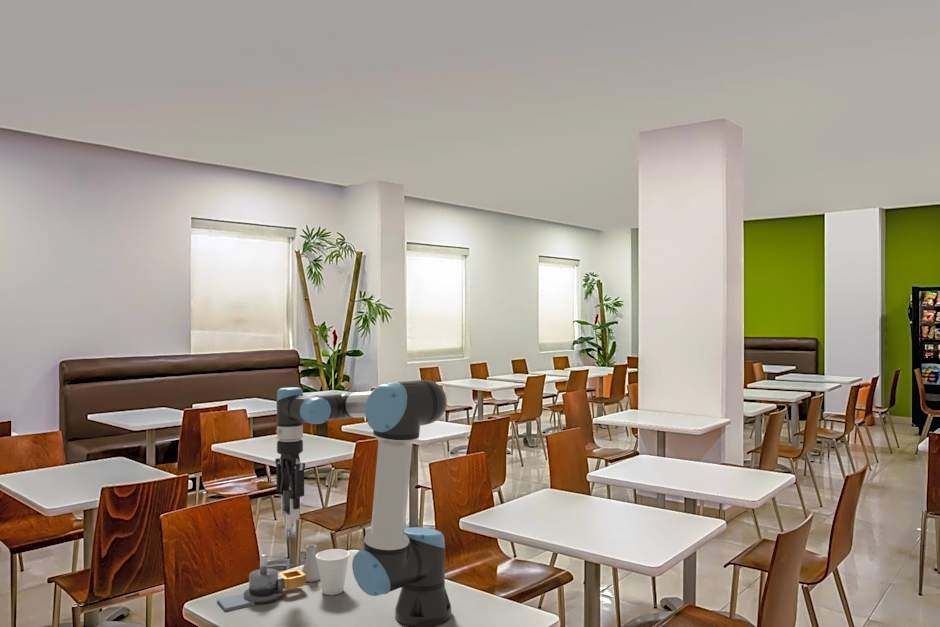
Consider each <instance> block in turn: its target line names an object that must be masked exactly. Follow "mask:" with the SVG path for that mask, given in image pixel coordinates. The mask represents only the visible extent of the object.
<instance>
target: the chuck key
mask: <svg viewBox="0 0 940 627" xmlns="http://www.w3.org/2000/svg"><path fill="white" fill-rule="evenodd" d="M289 497H292V495H291V488H289V489H284V490H283V511H285V517H284V518H285V519H284V520H285V521H284V522H285V525H284V526H285V530H284V531H285V533H284V534H285V536H284V537H285V539H286V540H291V539H296V538H297V536H296V535H297V529H296V528H297V522H296V521H297V520H293V521H290V498H289Z"/></svg>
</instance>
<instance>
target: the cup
mask: <svg viewBox="0 0 940 627" xmlns="http://www.w3.org/2000/svg"><path fill="white" fill-rule="evenodd" d="M350 555H351V553H350V551H349V550H346V549H339V548H332V549H331V548H330V549H325V550H323V551H319V552H317V553H316V558H317V563H318V569H319V574H320V580H319V581H320V587H321V592H322V593H323V594H324V595H327V596H337V595H339V594H341V593H343V591H344V588H345V581H346V577H347V575H346V574H347V569H348V563H349V558H350Z"/></svg>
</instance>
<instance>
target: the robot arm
mask: <svg viewBox="0 0 940 627" xmlns="http://www.w3.org/2000/svg"><path fill="white" fill-rule="evenodd" d="M276 392H277V393H276V401H275V402H276V431H275V432H276V439H277V442H276V453H277V454H278V455H280V457H276V458H274V459H275V465H276V467H275V468H276V470H275V471H276V473H275V474H276V478H275V479H276V484H275V485H276V492H279V494H280V517H281V518H285V511H283V490H284V489H291V495H292V497H289V498H290V521H293V520H296V521H298V520H301V519H300V514H301V513H300V507H301V506H300V500H301V499H300V498H301V497H304V496H305V469H306V463H305V462H301V460H300V454H301V453H303V451H304V441H303V437H304V423H306V424H310V425H315V424H316V425H319V424H324V422H326V421H334V420H341V419H356V418H361V419H362V418H365V419H367V424H368V426H369V428H371V429H372V432H373V433H372V434H373V436H374V438H375V439H376V440H377V441H378V444H377V455H376V467H375V468H376V469H375V478H374V489H373V490H374V491H373V501H372V512H371V524H370V531H369V532H368V533H367V534H366V535H364V538H363V548H362V549H361V550H360V549H359V550H358V551H357V552H356V553H355V554H354V555H353V558H352V562H351V564H352V566H351V567H352V574H353V577H354V579H355V581H356V583H357V585H358V587H359V588H360V589H361V591H362V592H363V593H365V594H366V595H368V596H371V597H378V596H381V595H387V594H389V593H390V592H393V591H396V590H398V589H400V588H401V589H400V592H399V596H398V598H397V602H396V605H395V609H394V610H395V613H394V614H395V616H394V618H395V619H396V621H397V622H398V623H399V624H401V625H403V626H408V627H435V626H439V625H441V624H445V623H446V622H448V621H449V620H450V619H451V617H452V605H451V601H450V599H449V596H448V592H447V589H446V586H445V585H446V584H445V580H446V579H445V578H446V574H445V573H446V571H445V570H446V545H445V536H444V534H443V533H442V532H441V531H439V530H437V529H434V528H429V527H428V528H427V527H421V526H418V527H415V526H414V527H406V521H407V520H406V519H407V508H408V496H409V484H410V475H411V474H410V473H411V464H412V452H413V443H415V442H416V441H417V440H419V438H420V432H421V426H426V425H430V424H432V423H435V422H437V421H438V420H439V419H440V418H441V417H442V416H443V414H444V413H445V411H446V409H447V404H448V403H447V402H448V401H447V400H448V398H447V395H446V392H445V390H444V389H443V388H442V386H441V385H439V384H438V383H437V382H435V381H433V380H429V379H428V380H427V379H419V380H410V381H409V380H408V381H391V382H388V383H383V384H380V385H377V386H375V388H374V389H372V391H371V390H369V391H358V392H355V391H353V392H352V391H351V392H350V391H349V392H345V393H343V392H342V393H336V394H335V393H334V394H323V395H314V396H313V395H312V396H307V395H304V393H303V389H302V387H298V386H297V387H296V386H295V387H293V386H292V387H281V388H278V390H277V391H276Z"/></svg>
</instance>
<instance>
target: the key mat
mask: <svg viewBox="0 0 940 627" xmlns="http://www.w3.org/2000/svg"><path fill="white" fill-rule="evenodd" d="M216 602H217V603H218V605H219V606H220V607H221V608H222V609H223V611H224V612H228V611H232V610H237V609H241V608H246V607H249V606H255V604H254V601H248V600H246V599H245V598H244V592H243V593H239V594H235V595H231V596H230V595H229V596H225V597H221V598H217V601H216Z"/></svg>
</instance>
